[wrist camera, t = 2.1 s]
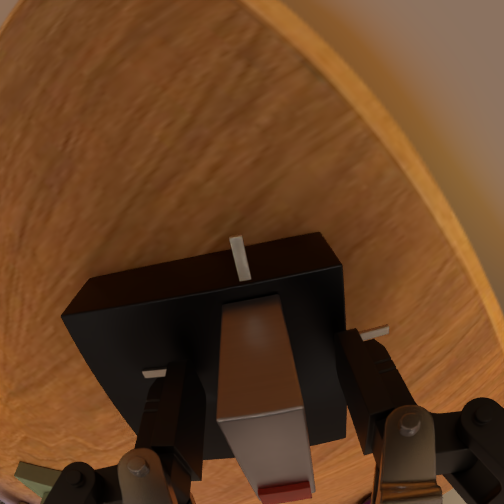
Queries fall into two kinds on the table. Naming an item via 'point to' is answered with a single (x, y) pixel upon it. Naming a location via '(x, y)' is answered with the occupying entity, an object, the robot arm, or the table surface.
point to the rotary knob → (263, 401)
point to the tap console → (216, 326)
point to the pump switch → (37, 478)
